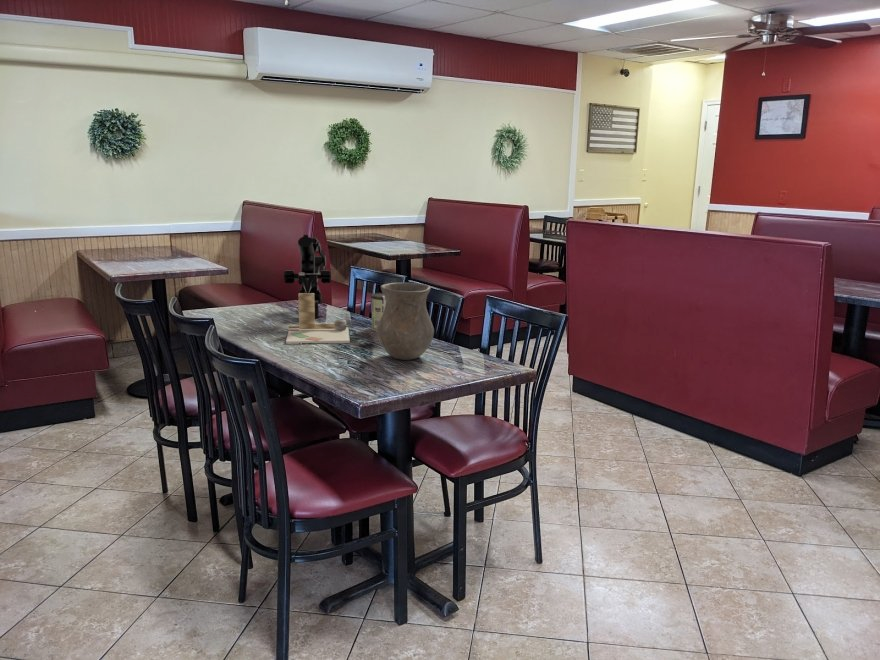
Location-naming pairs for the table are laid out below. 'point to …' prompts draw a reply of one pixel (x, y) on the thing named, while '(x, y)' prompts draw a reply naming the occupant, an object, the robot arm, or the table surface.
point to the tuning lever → (313, 315)
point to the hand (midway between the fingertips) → (307, 293)
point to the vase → (405, 320)
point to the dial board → (317, 336)
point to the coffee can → (376, 309)
